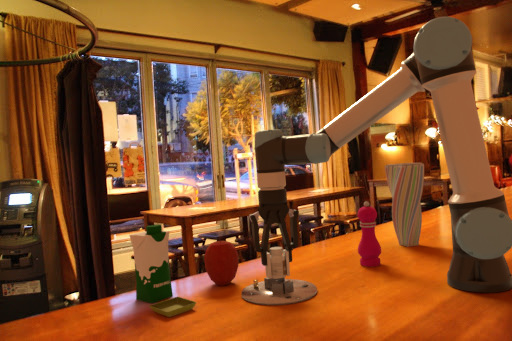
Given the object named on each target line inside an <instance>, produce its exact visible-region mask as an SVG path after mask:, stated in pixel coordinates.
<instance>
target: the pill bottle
mask: <svg viewBox="0 0 512 341" xmlns="http://www.w3.org/2000/svg"><path fill="white" fill-rule="evenodd" d="M283 250H284V249H283V247H282V246H272V247H269V253H270V261H271V275H272V278H273V279H280V278H284V277H285V278H286V277H287V275H286V265H285V256H283Z"/></svg>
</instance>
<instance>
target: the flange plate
mask: <svg viewBox="0 0 512 341" xmlns="http://www.w3.org/2000/svg"><path fill="white" fill-rule="evenodd" d="M317 293H318V288H317V285H315V284H314V283H312V282H309V281H306V280H303V279H302V280H301V279H294V278H286V277H284V278H280V279H273V278H270V279H269V278H268V277H264V278H263V281H259V279H253V283H252V284H249V285H247V286H245V287H244V288H243V289H242V290H241V297H242V299H243V300H244V301H246V302H247V303H251V304H255V305H261V306H284V305H285V306H286V305H294V304H297V303H302V302H304V301H308V300H310V299H312V298H314V297H316V295H317Z"/></svg>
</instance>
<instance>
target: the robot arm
mask: <svg viewBox="0 0 512 341" xmlns="http://www.w3.org/2000/svg"><path fill="white" fill-rule="evenodd" d="M412 44H413V47H412V49H413V52H412V53H411V54H410V55H409V56H408V57H407V58H406V59H404V60H403V61H402V62H401V63H400V68H399V69H398V70H396V71H395V72H394V73H392V74H391V75H390V76H388V77H387V78H386V79H385V80H384V81H381V83H380V84H378V85H376V87H374V88H373V89H372V90H370V91H369V92H367V93H366V94H365V95H364V96H363V97H360V99H359V100H357V101H355V103H353V104H352V105H351V106H350V107H348V108H347V109H346V110H344V111H343V112H341V113H340V114H339V115H337V116H336V117H335V118H333V119H332V120H331V121H330V122H329V123H327V124H326V125H325V126H323V127H322V128H321V129H320V130H317V131H316V132H314V133H309V134H306V133H305V134H297V135H284V133H283V131H282V129H279V128H277V129H275V128H273V129H264V130H263V129H262V130H258V131H256V132H255V134H254V148H253V149H254V156H255V165H256V180H257V182H256V183H257V188H258V189H259V190H258V191H257V196H258V197H257V198H258V209H257V211H256V212H254V213H249V214H248V219H249V221H250V225H251V235H252V244H253V245H252V246H253V251H255V252H256V253H260V260H261V265H262V266H264V267H265V276H266V277H268V278H269V279H270V278H272V275H271V261H270V256H271V254H270V252H268V250H269V249H268V248H269V240H270V234H271V229H272V225H274V224H277V226H278V229H279V232H280V234H281V238H282V242H283V245H284V248H285V249H283V253H282V255H283V256H285V265H286V277H289V276H291V269H290V263H292V262H293V250H294V249H295V248H298V247H299V231H298V218H299V214H300V212H299V210H298V209H297V210H296V209H292V208H290V207H289V205H288V198H287V196H288V194H287V189H286V188H285V187H286V185H287V182H286V181H287V179H286V166H291V165H310V164H314V165H317V164H318V165H319V164H323V163H328V162H329V161H330V157H332V156H333V154H335V153H336V152H338V151H339V150H340V149H341V148H342V147H344V146H345V145H347V143H349V142H351V141H352V140H353V139H355V138H357V137H358V136H359V135H361V133H363V132H364V131H366V130H367V129H369V128H370V127H372V126H373V125H374V124H376V123H377V122H378V121H380V120H381V119H382V118H383V117H385V116H386V115H388V114H389V113H391V112H392V111H393V110H395V109H396V108H397V107H399V106H400V105H402V103H404V102H405V101H407V100H408V99H409V98H411V97H412V96H413V95H416V93H420V92H423V93H424V92H426V91H428V92H430V94H431V101H432V105H433V108H434V112H435V118H436V121H437V127H438V131H439V136H440V141H441V145H442V148H443V154H444V157H445V163H446V166H447V172H448V175H449V181H450V184H451V185H450V186H451V189H452V195H451V196H450V198H449V199H448V200H447V204H448V208H449V213H450V214H449V215H450V222H451V223H450V224H451V239H452V244H451V245H452V254H451V255H452V256H451V260H450V262H449V263H450V264H449V269H448V271H447V273H446V278H447V279H446V281H447V284H448V285H449V286H450V287H452V288H454V289H457V290H462V291H466V292H472V293H473V292H474V293H499V292H500V293H501V292H506V291H509V290H511V289H512V273H511V270H510V267H509V265H508V262H507V260H506V257H505V255H506V254H507V252H509V251H510V250H511V249H512V218H511V217H510V214H509V211H508V210H509V209H508V206H507V201H506V197H505V193H504V191H502V190H501V189H499V188H498V187H496V185H495V182H494V178H493V174H492V169H491V165H490V161H489V157H488V152H487V148H486V147H487V146H486V144H485V139H484V135H483V130H482V125H481V122H480V118H479V113H478V107H477V102H476V99H475V94H474V90H473V86H472V80H473V78H474V77H475V75H476V74H477V69H476V64H475V60H474V55H473V51H472V46H473V35H472V33H471V30H470V28H469V27H468V26H467V25H466V23H465V22H463V21H462V20H461V19H458V18H456V17H452V16H439V17H436V18H433V19H430V20H429V21H428V22H426V23H425V24H423V25H422V26H421V28H420V29H419V30H418V31H417V34H416V35H415V37H414V41H413V43H412ZM287 216H289V230H290V231H289V232H290V236H289V232H288V229H287V223H286V220H285V219H286V218H287ZM259 217H260V218H261V219H262V220H263V223H262V224H263V225H262V226H263V228H262V234H261V235H262V236H261V239H260V231H259V222H258V221H259V219H260V218H259ZM260 240H261V241H260ZM266 277H265V278H266Z"/></svg>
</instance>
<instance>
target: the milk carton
mask: <svg viewBox="0 0 512 341" xmlns="http://www.w3.org/2000/svg"><path fill="white" fill-rule="evenodd" d="M145 229H146V231H145V230H144V231H142V232H137V233H132V234H129V240H130V241H131V245H132V249H133V250H132V251H133V257H134V258H133V260H134V271H135V273H134V274H135V286H136V287H135V293H136V295H135V297H136V298H135V300H137V301H141V302H145V303H149V304H151V305H152V304H155V303H159V302H162V301H164V300H165V299H166V300H167V299H168V298H169V299H170V298H171V297H172V298H173V296H174V295H173V294H174V293H173V288H172V287H173V286H172V280H171V269H170V258H169V257H170V255H169V254H170V253H169V239H170V237H169V236H170V231H169V230H168V231H167V230H163V229H162V224H150V225H146V226H145Z"/></svg>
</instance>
